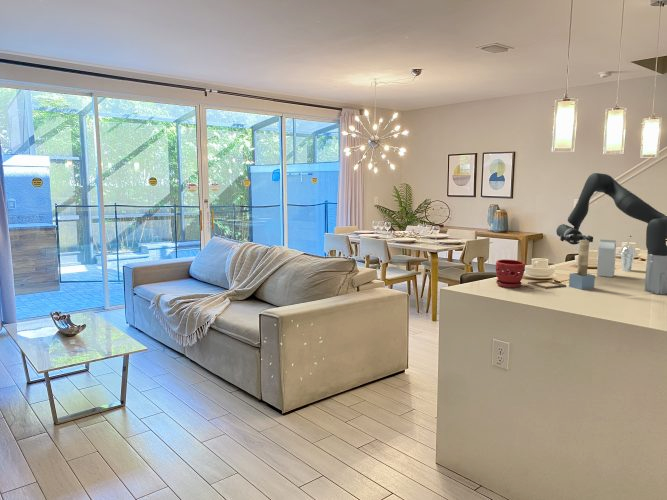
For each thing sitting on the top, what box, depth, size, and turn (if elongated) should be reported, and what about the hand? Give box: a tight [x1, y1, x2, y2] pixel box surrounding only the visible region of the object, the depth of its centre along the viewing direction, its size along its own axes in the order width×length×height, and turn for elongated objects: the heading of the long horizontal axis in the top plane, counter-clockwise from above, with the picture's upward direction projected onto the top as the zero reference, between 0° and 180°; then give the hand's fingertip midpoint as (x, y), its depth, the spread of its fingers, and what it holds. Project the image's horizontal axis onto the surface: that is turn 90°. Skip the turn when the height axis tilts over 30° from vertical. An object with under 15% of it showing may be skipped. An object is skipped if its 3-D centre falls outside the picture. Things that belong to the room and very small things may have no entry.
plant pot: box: [495, 259, 526, 289], centre depth 237 cm, size 13×13×12 cm
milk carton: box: [596, 239, 617, 278], centre depth 260 cm, size 7×7×19 cm
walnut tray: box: [527, 279, 567, 290], centre depth 235 cm, size 12×12×2 cm
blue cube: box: [568, 272, 596, 291], centre depth 229 cm, size 7×7×7 cm
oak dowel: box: [576, 240, 590, 276], centre depth 228 cm, size 4×4×22 cm
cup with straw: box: [618, 235, 637, 272], centre depth 274 cm, size 8×9×20 cm
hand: (579, 240), depth 237 cm, fingers open, 8 cm apart
